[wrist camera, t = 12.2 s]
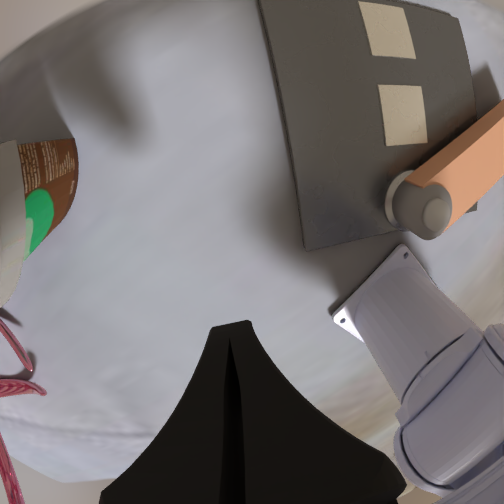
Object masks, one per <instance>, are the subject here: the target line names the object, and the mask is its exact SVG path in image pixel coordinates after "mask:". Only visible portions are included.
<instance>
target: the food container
mask: <svg viewBox="0 0 504 504" xmlns="http://www.w3.org/2000/svg"><path fill="white" fill-rule="evenodd" d="M78 166H79V162H78V153H77V147H76V143H75V139H74V138H70V139H60V140H50V141H42V142H34V143H27V144H20V145H17V142H16V139H15V140H11V141H8V142H5V143H1V144H0V308H1V307H2V306H3V305H4V304H5V303H6V302H7V301H8V300H9V299H10V297H11V295H12V294H13V292H14V290H15V289H16V286H17V283H18V280H19V278H20V275H21V270H22V265H23V262H24V261H25V260H26V258H27V257H28V256H29V255H30V254H31V253H32V252H33V251H34V249H35V248H36V247H37V246H38V245H39V244H40V243H41V242H42V241H43V240H44V239H45V238H46V237H47V236H48V235H49V234H50V233H51V232H52V230H53V229H54V228H55V227H56V226H57V225H58V224H59V223H60V222H61V221H62V220H63V219H64V217H65V216H66V214H67V213H68V211H69V209H70V207H71V205H72V202H73V199H74V197H75V193H76V188H77V182H78Z"/></svg>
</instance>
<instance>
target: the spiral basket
mask: <svg viewBox="0 0 504 504" xmlns="http://www.w3.org/2000/svg"><path fill="white" fill-rule="evenodd" d="M0 332H1V333H2V334H3V336H4V337H5V338H6V339H7V341H8V342H9V344H10V345H11V346H12V348H13V349H14V351H15V352H16V354H17V356H18V357H19V359H20V360H21V362H22V363H23V365H24V366H25V367H26V368H27V369H28V370H29V371H33V366H32V363H31V361H30V359H29V357H28V355H27V354H26V352H25V350H24V349H23V347H22V346H21V344H20V343H19V341H18V340H17V338H16V337H15V336H14V334H13V333H12V332H11V330H10V329H9V328H8V327H7V326H6V324H5V323H4V322H3V321H2V320H1V319H0ZM21 394H38V395H41V396H45V395H46V394H47V392H46V390H45V389H44V388H43V387H41V386H40V385H38V384H36V383H33V382H30V381H26V380H21V379H0V397H6V396H13V395H21ZM0 474H1V477H2V480H3V483H4V487H5V490H6V493H7V497H8V501H9V504H25V503H24V499H23V496H22V492H21V489H20V486H19V483H18V480H17V477H16V474H15V471H14V468H13V465H12V463H11V460H10V457H9V454H8V452H7V449H6V446H5V443H4V441H3V438H2V436H1V433H0Z"/></svg>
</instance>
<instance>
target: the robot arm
mask: <svg viewBox="0 0 504 504" xmlns="http://www.w3.org/2000/svg"><path fill="white" fill-rule="evenodd" d="M405 253H406V254H405ZM404 254H405V256H404ZM342 318H344V319H343V320H341V319H342ZM332 319H333V321H334V322H335V323H336V324H338V325H339V326H341V327H342V328H344V329H345V330H346V331H348V332H349V333H351V334H352V335H354V336H355V337H356V338H358V339H359V340H361V341H362V342H364V343H365V344H366V346H367V347H368V349H369V351H370V352H371V354H372V356H373V357H374V359H375V361H376V362H377V364H378V366H379V367H380V369H381V371H382V372H383V374H384V376H385V377H386V379H387V381H388V383H389V384H390V386H391V388H392V390H393V391H394V393H395V395H396V396H397V398H398V400H399V402H400V404H401V405H402V406H401V407H400V409H399V410H398V411H397V412H396V413H395V415H396V417H397V419H398V421H399V423H400V425H401V426H400V427H399V428H398V429H397V431H396V433H395V436H394V452H395V457H396V461H397V464H398V466H399V468H400V470H401V472H402V473H403V475H404V476H405V477H406V478H407V479H408V480H409V481H410V482H411V483H412V484H414V485H415V486H417V487H419V488H420V489H422V490H425V491H428V492H432V493H435V494H437V495H439V496H440V497H442V499H440V500H438V501H437V502H435V503H433V504H504V325H503V324H496V325H489V326H488V327H487V329H486V330H485V331H482V330H481V329H480V328H479V327H478V326H477V325H476V324H475V323H474V322H473V321H472V320H471V319H470V318H469V317H468V316H467V315H466V314H465V313H464V312H463V311H462V310H461V309H460V308H459V307H457V306H456V305H455V304H454V303H453V302H452V301H451V300H450V299H449V298H448V297H447V296H446V295H445V294H444V293H443V292H442V291H440V290H439V289H438V288H437V286H436V285H435V284H434V282H433V281H432V279H431V278H430V277H429V275H428V274H427V272H426V271H425V270H424V268H423V267H422V266H421V264H420V263H419V262H418V260H417V259H416V258H415V256H414V255H413V254H412V252H411V251H410V250H409V249H408V247H407V246H405V245H404V244H400V245H398V246H397V247H396V249H395V250H394V251H393V252H392V253H391V254H390V255H389V256H388V257H387V259H386V260H385V261H384V262H383V263H382V264H381V265H380V266H379V267H378V268H377V269H376V270H375V271H374V273H373V274H372V275H371V276H370V277H369V278H368V279H367V280H366V281H365V282H364V283H363V284H362V285H361V286H360V287H359V288H358V289H357V290H356V291H355V292H354V293H353V294H352V295H351V296H350V297H349V298H348V299H347V300H346V301H345V302H344V303H343V304H342V305H341V306H340V307H339V308H338V309H337V310H336V311H335V312H334V313H333V314H332ZM406 486H407V484H406V482H405V479H404V478H403V476H402V474H401V473H400V471H399V470H398V468H397V467H396V466H395V465H394V463H393V462H392V461H391V460H390V459H389V458H388V457H387V456H386V454H384V453H383V452H381V451H379V450H377V449H375V448H373V447H372V446H370V445H368V444H366V443H365V442H363V441H361V440H360V439H358V438H356V437H355V436H353V435H352V434H350V433H349V432H347V431H346V430H344V429H343V428H341V427H340V426H338V425H337V424H336V423H334V422H333V421H332V420H331V419H329V418H328V417H327V416H325V415H324V414H323V413H322V412H320V411H319V410H318V409H317V408H315V407H314V406H313V405H312V404H311V403H310V402H309V401H308V400H307V399H306V398H304V397H303V396H302V395H301V394H300V393H299V392H298V391H297V390H296V389H295V388H294V386H293V385H292V384H291V383H290V382H289V381H288V380H287V379H286V378H285V376H284V375H283V374H282V373H281V372H280V370H279V369H278V368H277V367H276V365H275V364H274V363H273V361H272V360H271V358H270V357H269V356H268V354H267V353H266V351H265V350H264V348H263V347H262V345H261V343H260V341H259V340H258V338H257V336H256V334H255V332H254V329H253V327H252V323H251V321H249V320H244V321H240V322H235V323H230V324H225V325H220V326H216V327H212V328H211V330H210V332H209V335H208V338H207V341H206V344H205V347H204V350H203V352H202V355H201V358H200V360H199V362H198V365H197V367H196V369H195V372H194V374H193V376H192V378H191V380H190V382H189V384H188V386H187V388H186V390H185V392H184V394H183V396H182V398H181V399H180V401H179V403H178V405H177V406H176V408H175V410H174V411H173V413H172V414H171V416H170V417H169V419H168V421H167V422H166V423H165V425H164V426H163V428H162V429H161V430H160V432H159V433H158V435H157V436H156V437H155V438H154V440H153V441H152V442H151V443H150V445H149V446H148V447H147V448H146V449H145V450H144V452H143V453H142V454H141V455H140V456H139V457H138V458H137V459H136V460H135V461H134V463H133V464H132V465H131V466H130V467H129V468H128V469H127V470H126V471H125V472H124V473H122V474H121V475H120V476H119V477H118V478H117V479H116V480H115V481H113V482H112V483H111V484H110V485H109V486H108V487H106V488H105V489H104V490H103V491H102V492H101V496H100V500H99V504H398V502H397V500H396V498H397V497H398V496H399V495H400V494H401V493H402V492H403V491H404V490H405V488H406Z"/></svg>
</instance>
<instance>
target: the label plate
mask: <svg viewBox="0 0 504 504" xmlns="http://www.w3.org/2000/svg"><path fill="white" fill-rule="evenodd" d="M258 2H259V6H260V10H261V14H262V18H263V22H264V26H265V30H266V34H267V39H268V43H269V47H270V52H271V56H272V61H273V65H274V70H275V75H276V80H277V85H278V89H279V94H280V99H281V105H282V110H283V115H284V120H285V126H286V131H287V137H288V143H289V149H290V155H291V161H292V167H293V173H294V179H295V186H296V192H297V199H298V206H299V213H300V220H301V228H302V235H303V243H304V248H305V250H306V251H311V250H315V249H319V248H324V247H328V246H332V245H336V244H341V243H345V242H349V241H353V240H358V239H362V238H366V237H370V236H374V235H379V234H383V233H387V232H391V231H395V230H401V231H410V230H408V229H407V228H405V227H403V226H402V225H400V224H399V223H398V222H397V221H396V219H395V218H394V215H393V212H392V200H393V196H394V193H395V191H396V189H397V187H398V186H399V185H400V183H401V182H403V181H404V178H406V177H407V176H408V175H410V174H411V173H412V172H414V171H415V170H416V169H418V168H419V167H420V166H421V165H423V164H424V163H425V162H427V161H428V160H429V159H430V158H432V157H433V156H434V155H436V154H437V153H438V152H439V151H441V150H442V149H443V148H444V147H446V146H447V145H448V144H450V143H451V142H452V141H453V140H455V139H456V138H457V137H458V136H460V135H461V134H462V133H463V132H465V131H466V130H467V129H468V128H469V127H471V126H472V125H473V124H474V123H476V122H477V115H476V105H475V96H474V89H473V82H472V76H471V70H470V65H469V60H468V55H467V51H466V46H465V42H464V38H463V34H462V30H461V27H460V23H459V20H458V18H455V17H452V16H449V15H446V14H443V13H439V12H436V11H432V10H429V9H425V8H421V7H417V6H413V5H408V4H404V3H399V2H393V1H388V0H258ZM476 210H477V202H476V203H475V204H474V205H473V206H472V207H471V208H469V209H468V210H467V211H466V212H465V213H468V212H472V211H476Z"/></svg>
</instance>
